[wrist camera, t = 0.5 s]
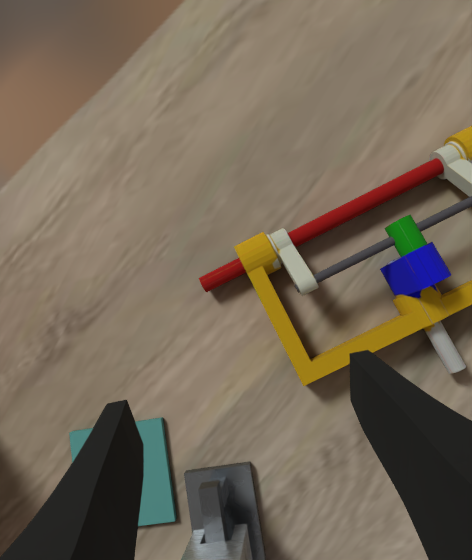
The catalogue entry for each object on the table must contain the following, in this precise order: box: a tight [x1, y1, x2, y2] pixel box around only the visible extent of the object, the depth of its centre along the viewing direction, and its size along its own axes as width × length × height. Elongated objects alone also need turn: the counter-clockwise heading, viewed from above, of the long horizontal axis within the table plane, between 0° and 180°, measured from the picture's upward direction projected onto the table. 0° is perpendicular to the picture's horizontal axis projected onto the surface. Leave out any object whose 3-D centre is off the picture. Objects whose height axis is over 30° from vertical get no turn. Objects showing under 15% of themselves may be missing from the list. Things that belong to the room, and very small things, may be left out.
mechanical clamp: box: [199, 126, 472, 386], centre depth 35 cm, size 18×6×30 cm
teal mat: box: [69, 417, 177, 526], centre depth 38 cm, size 9×9×1 cm
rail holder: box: [184, 462, 266, 560], centre depth 34 cm, size 13×6×5 cm, turn 9°
